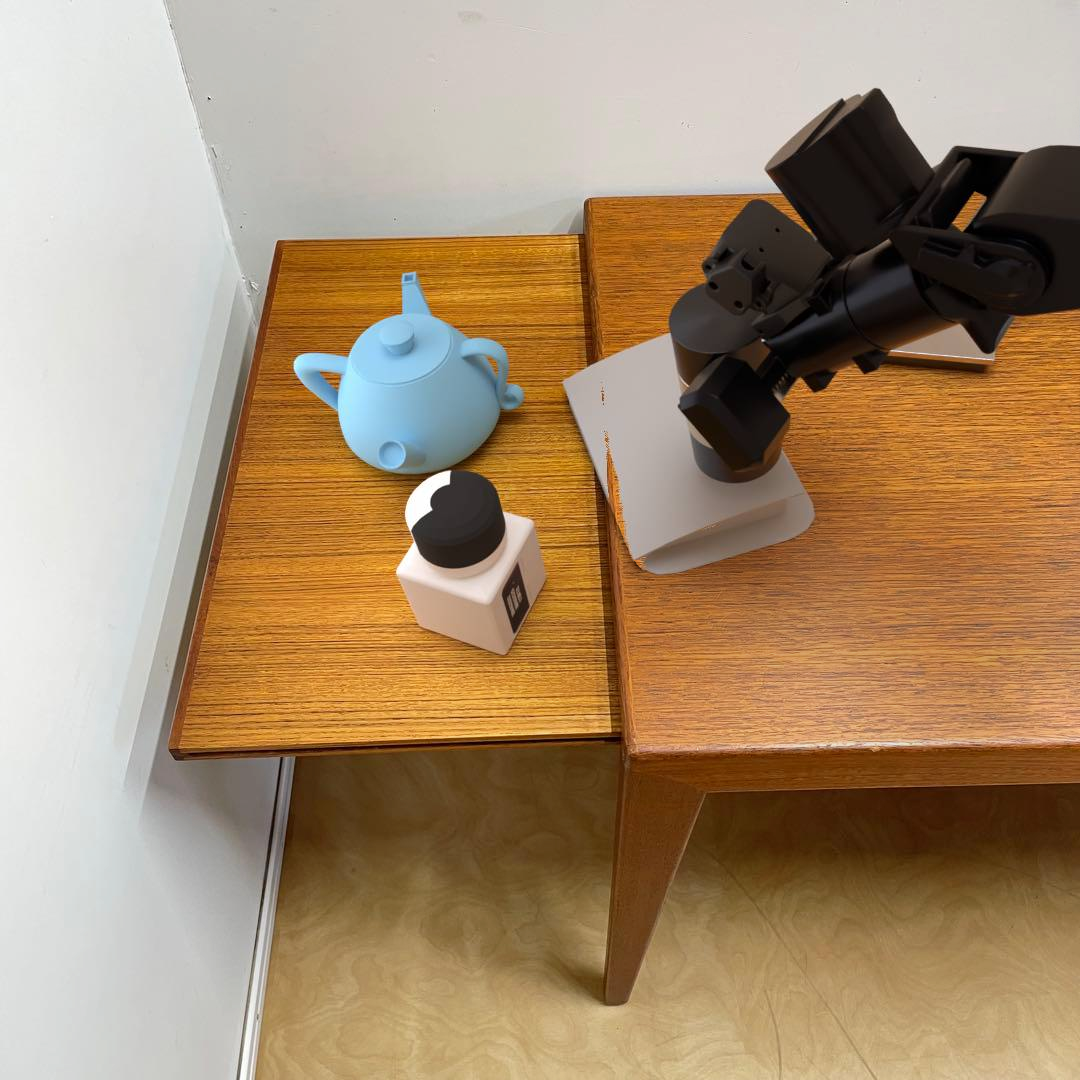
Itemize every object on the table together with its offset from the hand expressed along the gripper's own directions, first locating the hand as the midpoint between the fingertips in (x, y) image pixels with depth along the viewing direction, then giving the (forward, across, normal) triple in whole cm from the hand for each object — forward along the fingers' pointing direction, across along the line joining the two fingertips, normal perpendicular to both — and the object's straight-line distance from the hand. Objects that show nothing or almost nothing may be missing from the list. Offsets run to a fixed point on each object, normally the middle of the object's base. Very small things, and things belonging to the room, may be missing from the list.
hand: (708, 377), depth 70 cm
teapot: (+28, +5, -9) cm, 30 cm away
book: (+13, -3, +7) cm, 15 cm away
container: (+17, +18, +3) cm, 24 cm away
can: (+4, -1, +7) cm, 8 cm away
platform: (+5, -26, +15) cm, 30 cm away
